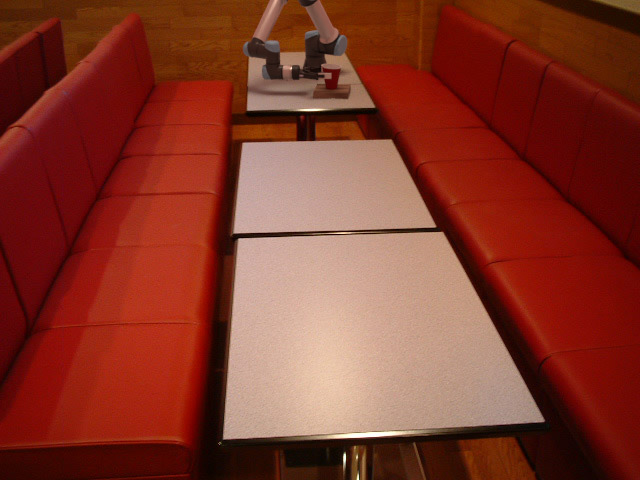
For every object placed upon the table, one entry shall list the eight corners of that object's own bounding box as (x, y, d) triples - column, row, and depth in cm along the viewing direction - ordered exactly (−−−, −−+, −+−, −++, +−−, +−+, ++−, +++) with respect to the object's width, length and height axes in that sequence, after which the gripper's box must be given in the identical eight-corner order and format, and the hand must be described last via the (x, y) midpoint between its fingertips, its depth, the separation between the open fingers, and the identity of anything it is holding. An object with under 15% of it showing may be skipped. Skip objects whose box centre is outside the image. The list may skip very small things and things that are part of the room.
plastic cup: (342, 90, 328) (342, 67, 322) (321, 91, 328) (321, 67, 322) (342, 85, 337) (342, 62, 332) (321, 85, 338) (321, 62, 332)
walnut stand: (317, 89, 343) (317, 83, 342) (350, 89, 341) (350, 84, 340) (313, 98, 327) (312, 92, 326) (347, 98, 325) (347, 93, 324)
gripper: (295, 73, 344) (334, 74, 342) (288, 85, 322) (330, 86, 320) (295, 59, 340) (334, 60, 338) (288, 70, 318) (330, 71, 316)
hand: (332, 72), depth 329 cm, fingers open, 13 cm apart
